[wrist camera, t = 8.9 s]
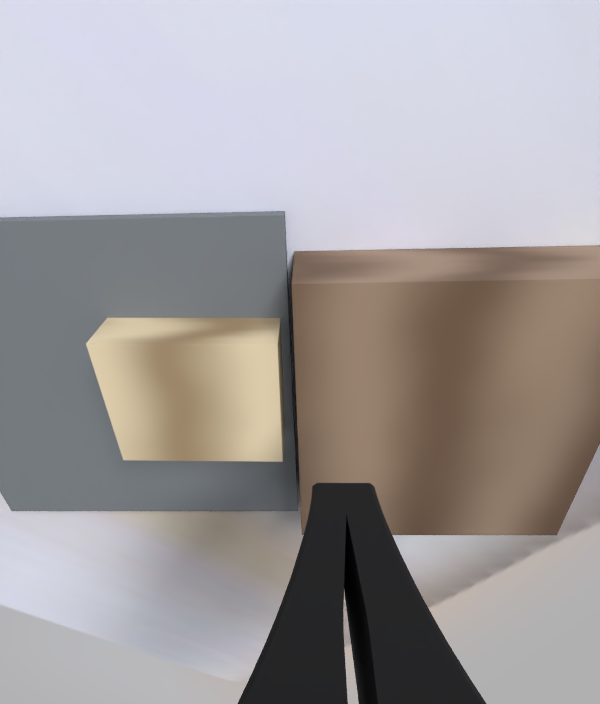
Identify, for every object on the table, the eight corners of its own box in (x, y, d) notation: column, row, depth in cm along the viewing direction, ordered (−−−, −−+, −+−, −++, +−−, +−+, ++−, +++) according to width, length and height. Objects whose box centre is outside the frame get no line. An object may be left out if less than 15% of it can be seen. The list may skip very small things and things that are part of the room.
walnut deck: (620, 244, 16) (677, 277, 14) (529, 484, 23) (556, 535, 21) (294, 251, 16) (291, 284, 14) (302, 484, 23) (301, 534, 21)
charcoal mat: (284, 211, 16) (283, 215, 15) (298, 503, 24) (297, 510, 24) (-147, 220, 16) (-159, 225, 16) (16, 503, 25) (11, 511, 24)
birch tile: (280, 317, 17) (277, 344, 16) (285, 429, 21) (282, 461, 19) (107, 318, 18) (85, 343, 16) (138, 428, 21) (123, 460, 19)
